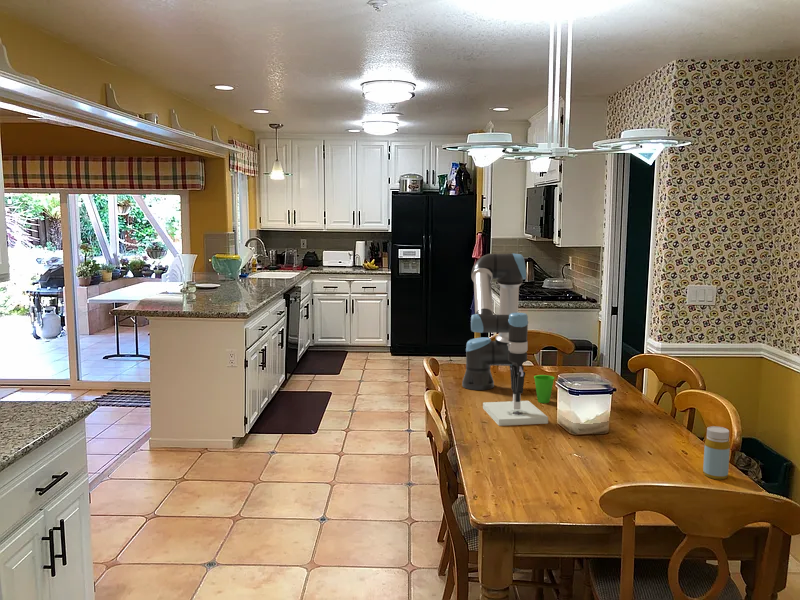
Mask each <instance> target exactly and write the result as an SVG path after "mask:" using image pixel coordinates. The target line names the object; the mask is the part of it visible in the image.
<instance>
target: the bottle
mask: <svg viewBox="0 0 800 600" xmlns="http://www.w3.org/2000/svg"><path fill="white" fill-rule="evenodd" d="M729 437H730V430H729V429H728V428H725V427H723V426H714V425H712V426H708V427H707V428H706V438H705V441H704V450H703V452H704V453H703V466H702V470H703V475H704V476H705V477H707V478H709V479H712V480H717V481H718V480H719V481H720V480H726V479H727V478H728V476H729V467H730V466H729V465H730V464H729V463H730V450H731V447H730V446H731V445H730V442H729V441H730V440H729Z"/></svg>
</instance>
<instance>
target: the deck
mask: <svg viewBox="0 0 800 600" xmlns="http://www.w3.org/2000/svg"><path fill="white" fill-rule="evenodd" d="M482 409H483V410H484V412H486V413H487V414H488V416H489V417H490V418H491V419H492V420H493V421H494V422H495V423H496V425H498V426H500V427H502V426H521V425H522V426H525V425H539V424H540V425H543V424H549V416H547V415H546V414H545V413H544V412H543V411H542V410H540V409H539V408H538V407H536V406H535V405H534V404H533V403H532V402H531V401H529V400H521V406H520V409H515V410H514V409H513V400H511V401H488V402H487V401H486V402H482ZM516 411H519V412H521V414H522V415H515V414H514V413H515V412H516Z"/></svg>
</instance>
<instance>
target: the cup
mask: <svg viewBox="0 0 800 600" xmlns="http://www.w3.org/2000/svg"><path fill="white" fill-rule="evenodd" d="M533 378H534V384H535V391H536V399H537V402H538V403H541V404H549V403H550V402H551V395H552V390H553V386H554V381H555V379H556V378H555V377H554V376H553V375H550V374H549V375H547V374H538V375H536V374H535V375H534V376H533Z"/></svg>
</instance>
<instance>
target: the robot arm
mask: <svg viewBox="0 0 800 600" xmlns="http://www.w3.org/2000/svg"><path fill="white" fill-rule="evenodd" d="M526 269H527V267H526V262H525V257H524V256H523V254H520V253H512V252H511V253H487V254H485V255H483V256H481V257H480V258H478V259H477V260H476V261H475V262H474V264H473V266H472V269H471V271H470V272H471V274H470V276H471V280H472V282H473V292H474V293H473V294H474V296H473V297H474V314H473V313H472V315H470V316H471V317H470V331H471V333H472V332H473V333H480V334H483V333H485V334H486V333H488V334H489V333H496V334H497V336H495V340H492V339H491V337H482V336H481V337H476V338H475V337H474V338H470V339H469V340H467V342H466V345H465V347H466V348H465V352H466V353H465V355H466V356H465V357H466V358H465V359H466V361H465V373H464V376H463V378H462V384H461V386H462V388H464V389H467V390H471V391H472V390H473V391H474V390H475V391H486V390H491V389H494V387H495V382H494V377H493V375H492V372H491V366H509V371H510V389H511V390H512V401H513V409H514V410H515V409H520V406H521V401H522V399H521V397H522V395H521V394H523V393H524V385H525V377H526V371H524V363H526V362H527V361H528V352H527V351H528V329H529V328H528V326H529V325H528V324H529V316H528V314H527V313H525V312H519V297H520V296H519V294H520V286H522V284H523V280H525V279H527V271H526ZM492 280H496V283H497V284H498V285H499V314H494V309H493V295H492V294H493V293H492Z"/></svg>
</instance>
